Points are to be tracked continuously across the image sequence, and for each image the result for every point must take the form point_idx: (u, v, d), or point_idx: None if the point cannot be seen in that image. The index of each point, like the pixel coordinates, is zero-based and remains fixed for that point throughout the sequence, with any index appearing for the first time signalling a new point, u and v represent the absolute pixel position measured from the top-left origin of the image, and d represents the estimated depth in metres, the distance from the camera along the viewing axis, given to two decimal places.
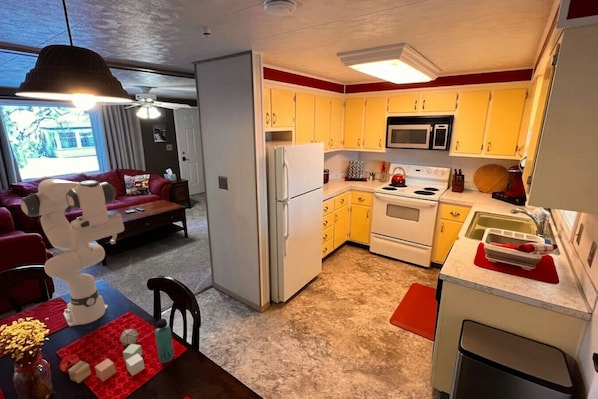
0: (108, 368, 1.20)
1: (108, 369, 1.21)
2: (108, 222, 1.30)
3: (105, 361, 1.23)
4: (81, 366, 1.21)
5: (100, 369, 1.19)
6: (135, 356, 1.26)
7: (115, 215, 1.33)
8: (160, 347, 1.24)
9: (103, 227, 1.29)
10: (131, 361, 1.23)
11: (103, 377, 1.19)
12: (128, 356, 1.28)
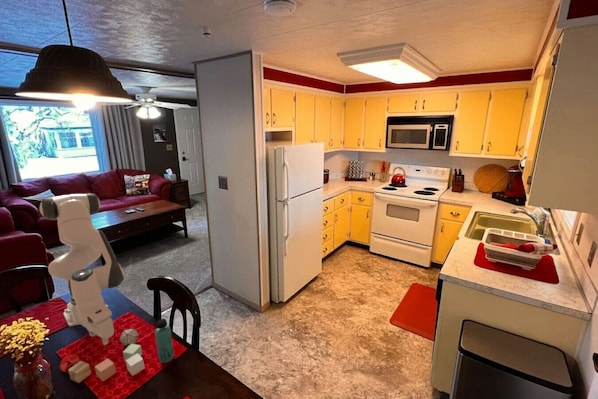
0: (108, 368, 1.20)
1: (108, 369, 1.21)
2: None
3: (105, 361, 1.23)
4: (81, 366, 1.21)
5: (100, 369, 1.19)
6: (135, 356, 1.26)
7: None
8: (160, 347, 1.24)
9: None
10: (131, 361, 1.23)
11: (103, 377, 1.19)
12: (128, 356, 1.28)
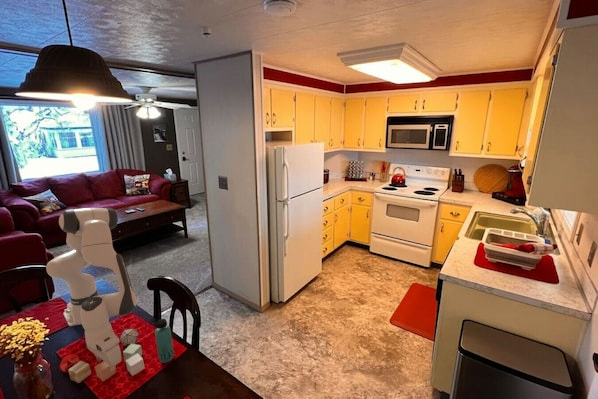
0: (108, 368, 1.20)
1: (108, 369, 1.21)
2: None
3: None
4: (81, 366, 1.21)
5: (100, 369, 1.19)
6: (135, 356, 1.26)
7: None
8: (160, 347, 1.24)
9: None
10: (131, 361, 1.23)
11: (103, 377, 1.19)
12: (128, 356, 1.28)
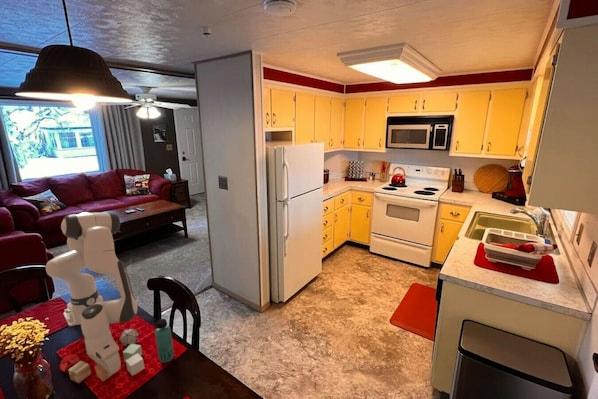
0: None
1: None
2: None
3: None
4: (81, 366, 1.21)
5: (100, 369, 1.19)
6: (135, 356, 1.26)
7: None
8: (160, 347, 1.24)
9: None
10: (131, 361, 1.23)
11: (103, 377, 1.19)
12: (128, 356, 1.28)
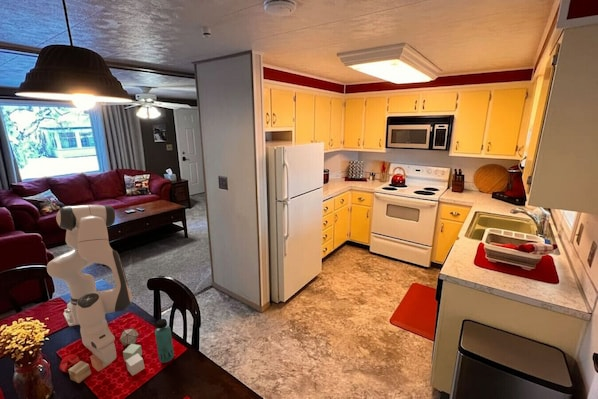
0: None
1: None
2: None
3: None
4: (81, 366, 1.21)
5: (95, 359, 1.18)
6: (135, 356, 1.26)
7: None
8: (160, 347, 1.24)
9: None
10: (131, 361, 1.23)
11: (98, 367, 1.18)
12: (128, 356, 1.28)
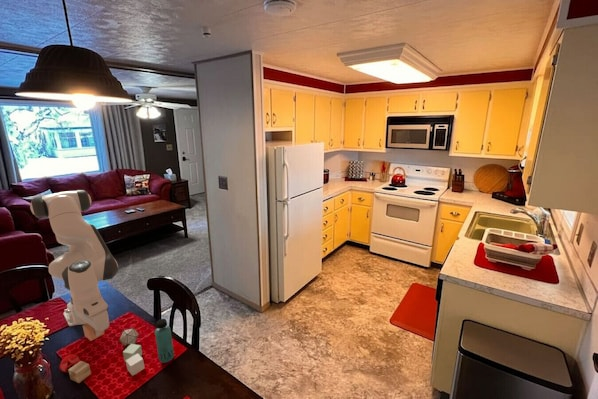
0: None
1: None
2: None
3: None
4: (81, 366, 1.21)
5: (88, 328, 1.15)
6: (135, 356, 1.26)
7: None
8: (160, 347, 1.24)
9: None
10: (131, 361, 1.23)
11: (91, 336, 1.15)
12: (128, 356, 1.28)
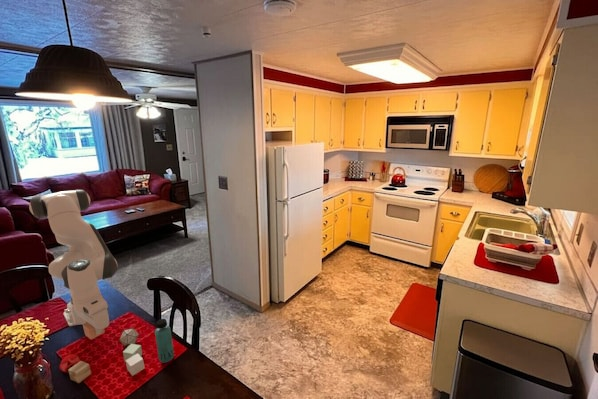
0: None
1: None
2: None
3: None
4: (81, 366, 1.21)
5: (88, 327, 1.15)
6: (135, 356, 1.26)
7: None
8: (160, 347, 1.24)
9: None
10: (131, 361, 1.23)
11: (91, 335, 1.15)
12: (128, 356, 1.28)
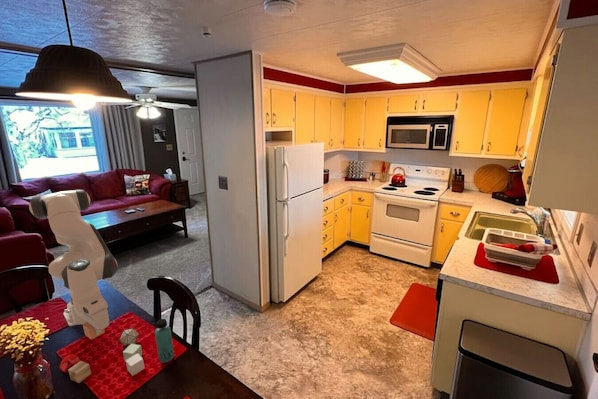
0: None
1: None
2: None
3: None
4: (81, 366, 1.21)
5: (88, 327, 1.15)
6: (135, 356, 1.26)
7: None
8: (160, 347, 1.24)
9: None
10: (131, 361, 1.23)
11: (91, 335, 1.15)
12: (128, 356, 1.28)
